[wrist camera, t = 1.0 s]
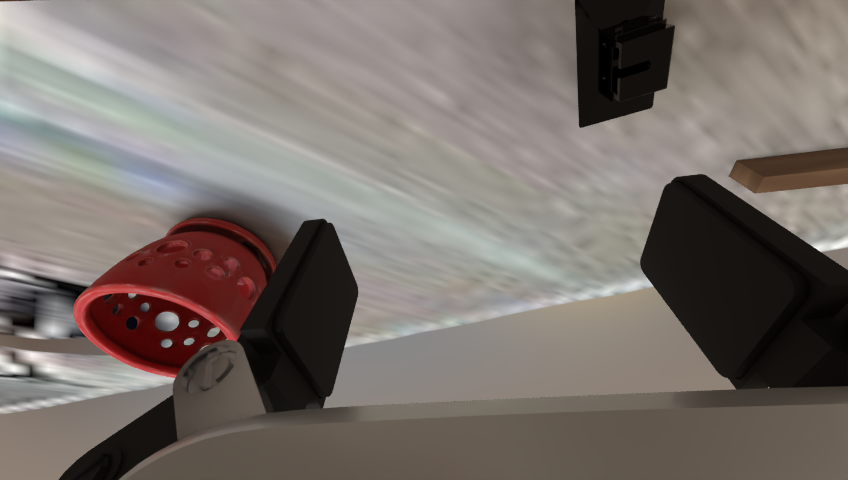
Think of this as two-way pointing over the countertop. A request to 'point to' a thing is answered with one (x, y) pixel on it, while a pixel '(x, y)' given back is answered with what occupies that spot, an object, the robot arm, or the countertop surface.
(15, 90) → the countertop surface
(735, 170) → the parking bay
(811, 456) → the robot arm
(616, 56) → the black piece
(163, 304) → the plant pot
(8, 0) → the coffee box
